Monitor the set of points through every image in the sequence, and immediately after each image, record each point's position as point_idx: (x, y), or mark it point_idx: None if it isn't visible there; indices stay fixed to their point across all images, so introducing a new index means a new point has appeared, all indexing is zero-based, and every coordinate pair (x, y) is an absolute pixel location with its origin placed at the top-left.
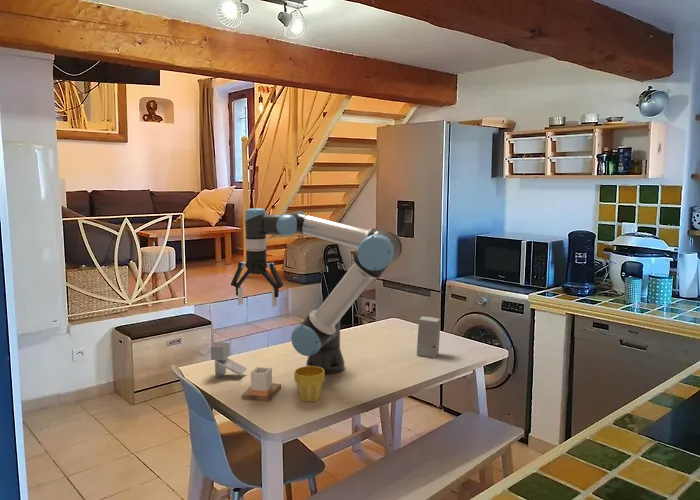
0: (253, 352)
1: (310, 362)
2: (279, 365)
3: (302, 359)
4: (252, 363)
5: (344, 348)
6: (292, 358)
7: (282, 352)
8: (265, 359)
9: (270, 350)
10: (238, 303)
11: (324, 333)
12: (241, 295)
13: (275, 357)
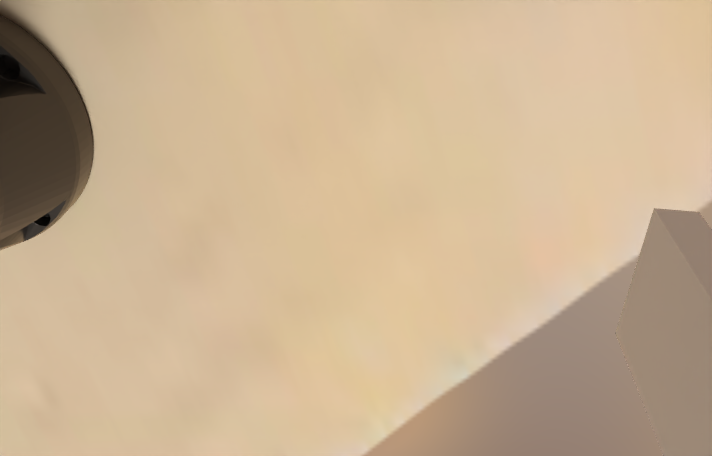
0: (510, 326)
1: (14, 84)
2: (273, 126)
3: (170, 241)
4: (467, 142)
5: (18, 412)
6: (236, 252)
7: (331, 338)
8: (399, 221)
9: (413, 362)
10: (706, 227)
11: None
12: (696, 413)
13: (346, 259)
